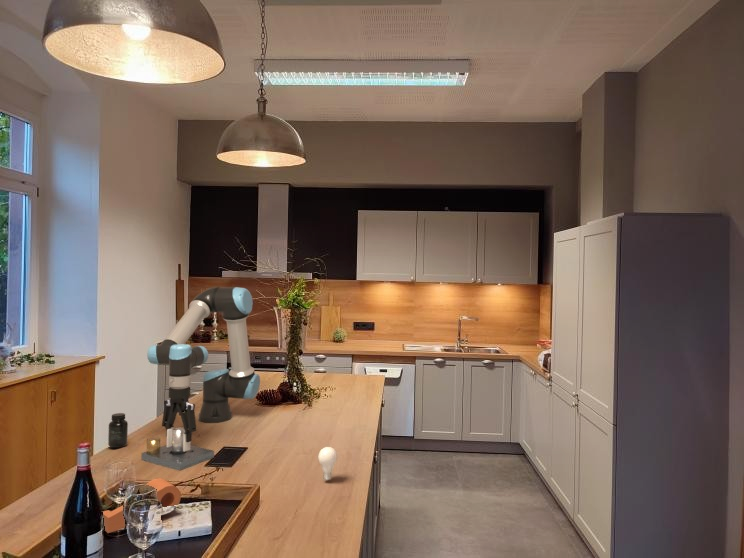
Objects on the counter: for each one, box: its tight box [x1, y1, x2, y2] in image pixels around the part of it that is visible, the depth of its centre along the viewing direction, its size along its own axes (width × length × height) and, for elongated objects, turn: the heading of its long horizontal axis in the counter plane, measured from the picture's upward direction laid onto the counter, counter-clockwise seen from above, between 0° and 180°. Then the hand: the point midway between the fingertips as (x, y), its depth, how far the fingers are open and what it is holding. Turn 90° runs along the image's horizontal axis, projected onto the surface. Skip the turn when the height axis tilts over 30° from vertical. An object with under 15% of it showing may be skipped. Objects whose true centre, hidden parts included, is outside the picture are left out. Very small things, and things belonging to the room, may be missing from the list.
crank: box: [102, 477, 182, 534], centre depth 148 cm, size 20×8×8 cm, turn 137°
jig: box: [141, 436, 215, 472], centre depth 195 cm, size 20×16×7 cm
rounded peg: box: [172, 426, 185, 455], centre depth 195 cm, size 5×5×11 cm
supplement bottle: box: [107, 412, 129, 448], centre depth 209 cm, size 7×7×12 cm
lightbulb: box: [317, 446, 338, 482], centre depth 177 cm, size 6×6×11 cm
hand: (178, 448), depth 195 cm, fingers open, 8 cm apart
